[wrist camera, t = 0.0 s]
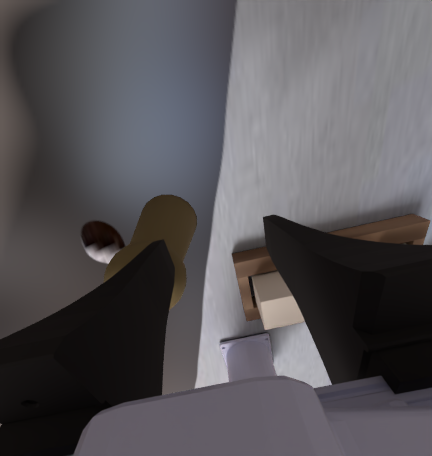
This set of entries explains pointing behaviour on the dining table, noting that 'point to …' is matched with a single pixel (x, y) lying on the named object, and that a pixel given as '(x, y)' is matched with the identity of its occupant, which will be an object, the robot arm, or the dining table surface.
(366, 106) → the dining table surface
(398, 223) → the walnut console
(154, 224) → the cork
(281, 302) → the cream button
